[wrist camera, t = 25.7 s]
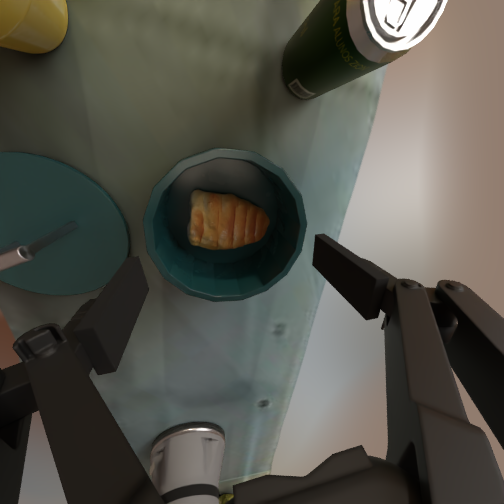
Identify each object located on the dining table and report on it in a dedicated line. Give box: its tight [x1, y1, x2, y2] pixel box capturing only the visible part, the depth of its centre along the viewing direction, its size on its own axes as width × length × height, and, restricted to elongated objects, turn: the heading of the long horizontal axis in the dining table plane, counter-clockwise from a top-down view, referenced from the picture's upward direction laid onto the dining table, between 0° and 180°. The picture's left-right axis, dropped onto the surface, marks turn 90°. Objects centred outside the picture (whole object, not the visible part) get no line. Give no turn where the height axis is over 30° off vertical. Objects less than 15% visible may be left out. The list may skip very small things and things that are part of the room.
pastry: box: [187, 189, 270, 250], centre depth 24 cm, size 9×7×4 cm
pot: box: [143, 148, 307, 302], centre depth 22 cm, size 14×14×8 cm
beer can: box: [282, 0, 447, 100], centre depth 15 cm, size 5×5×12 cm
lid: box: [0, 152, 130, 295], centre depth 19 cm, size 15×15×9 cm
